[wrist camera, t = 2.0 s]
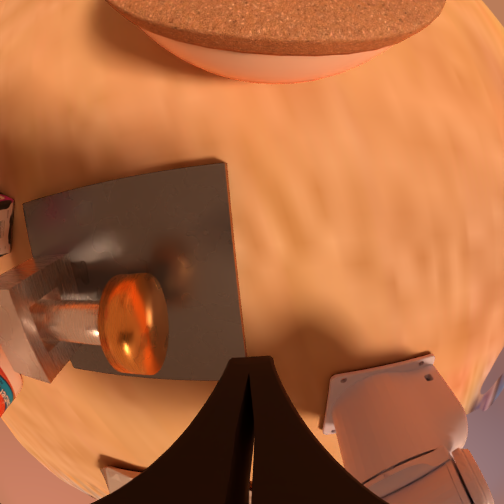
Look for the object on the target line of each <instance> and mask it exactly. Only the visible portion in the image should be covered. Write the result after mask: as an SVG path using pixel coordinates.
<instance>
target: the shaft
mask: <svg viewBox="0 0 504 504" xmlns="http://www.w3.org/2000/svg"><path fill="white" fill-rule="evenodd" d="M29 310H30V313H31V316H32V318H33V321H34V323H35V326H36V328H37V330H38V333H39V335H40V337H41V338H46V339H53V340H59V341H67V342H74V343H82V344H92V345H101V347H102V349H103V352H104V354H105V356H106V358H107V360H108V362H109V363H110V364H111V366H112V367H113V368H114V369H116V370H117V371H119V372H122V373H131V374H141V375H154V374H156V373H157V372H158V371H159V370H160V369H161V367H162V365H163V363H164V361H165V357H166V353H167V348H168V338H169V322H168V312H167V306H166V301H165V297H164V293H163V291H162V288H161V286H160V284H159V282H158V280H157V279H156V278H155V277H154V276H153V275H152V274H150V273H135V274H119V275H116V276H114V277H112V278H111V279H110V280H109V281H108V283H107V284H106V286H105V288H104V290H103V293H102V295H101V299H100V300H52V299H40V300H39V301H37V302H36V303H35V304H33V305H32V306H31V307H29Z"/></svg>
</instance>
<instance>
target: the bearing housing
mask: <svg viewBox="0 0 504 504" xmlns="http://www.w3.org/2000/svg"><path fill="white" fill-rule="evenodd" d="M23 209H24V216H25V221H26V227H27V232H28V237H29V242H30V246H31V251H32V255H33V258H31V259H29V260H27V261H25V262H23V263H21V264H20V265H18V266H16V267H14V268H12V269H11V270H9V271H7V272H5V273H4V274H2V275H0V345H1V347H2V349H3V351H4V353H5V355H6V357H7V359H8V361H9V362H10V364H11V366H12V368H13V370H14V372H17V373H19V374H22V375H25V376H28V377H31V378H34V379H37V380H41V381H44V382H47V383H51V382H52V381H53V380H54V378H55V377H56V376H57V375H58V373H59V372H60V371H61V370H62V368H63V367H64V366H65V365H66V363H67V362H68V361H69V360H71V362H72V365H73V367H74V368H78V369H83V370H89V371H95V372H102V373H109V374H116V375H125V376H134V377H144V378H157V379H173V380H204V381H219V380H220V378H221V376H222V374H223V372H224V370H225V368H226V366H227V363H228V361H229V360H230V359H231V358H238V357H247V352H246V344H245V335H244V326H243V318H242V309H241V300H240V291H239V282H238V272H237V263H236V253H235V243H234V233H233V223H232V213H231V203H230V192H229V181H228V170H227V163H219V164H210V165H202V166H194V167H186V168H179V169H172V170H166V171H160V172H154V173H148V174H142V175H137V176H131V177H126V178H121V179H116V180H111V181H107V182H102V183H98V184H93V185H89V186H85V187H81V188H77V189H73V190H69V191H65V192H61V193H58V194H54V195H50V196H47V197H44V198H40V199H37V200H33V201H30V202H27V203H24V204H23ZM135 273H150V274H152V275H153V276H154V277H155V278H156V279H157V280H158V282H159V284H160V286H161V288H162V291H163V293H164V297H165V301H166V306H167V312H168V322H169V338H168V348H167V353H166V357H165V361H164V363H163V365H162V367H161V369H160V370H159V371H158V372H157V373H156V374H154V375H141V374H131V373H122V372H119V371H117V370H116V369H114V368H113V367H112V366H111V364H110V363H109V362H108V360H107V358H106V356H105V354H104V352H103V349H102V347H101V345H92V344H82V343H74V342H67V341H59V340H53V339H46V338H41V337H40V335H39V333H38V330H37V328H36V326H35V323H34V321H33V318H32V316H31V313H30V310H29V307H31V306H32V305H33V304H35V303H36V302H37V301H39V300H40V299H52V300H100V299H101V295H102V293H103V290H104V288H105V286H106V284H107V283H108V281H109V280H110V279H111V278H112V277H114V276H116V275H119V274H135Z"/></svg>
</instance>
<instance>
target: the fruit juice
mask: <svg viewBox="0 0 504 504" xmlns="http://www.w3.org/2000/svg"><path fill="white" fill-rule="evenodd" d="M22 385H23V383H22V378H21V375H20V374H19V373H17V372H14V370H13V368H12V366H11V364H10V362H9V361H8V359H7V357H6V355H5V353H4V351H3V349H2V347H1V345H0V417H1V416H2V414H3V413H4V412H5V410H6V409H7V408H8V406H9V405H10V404H11V403H12V401H13V400H14V399H15V398H16V396H17V395H18V394H19V392H20V391H21V389H22Z"/></svg>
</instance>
